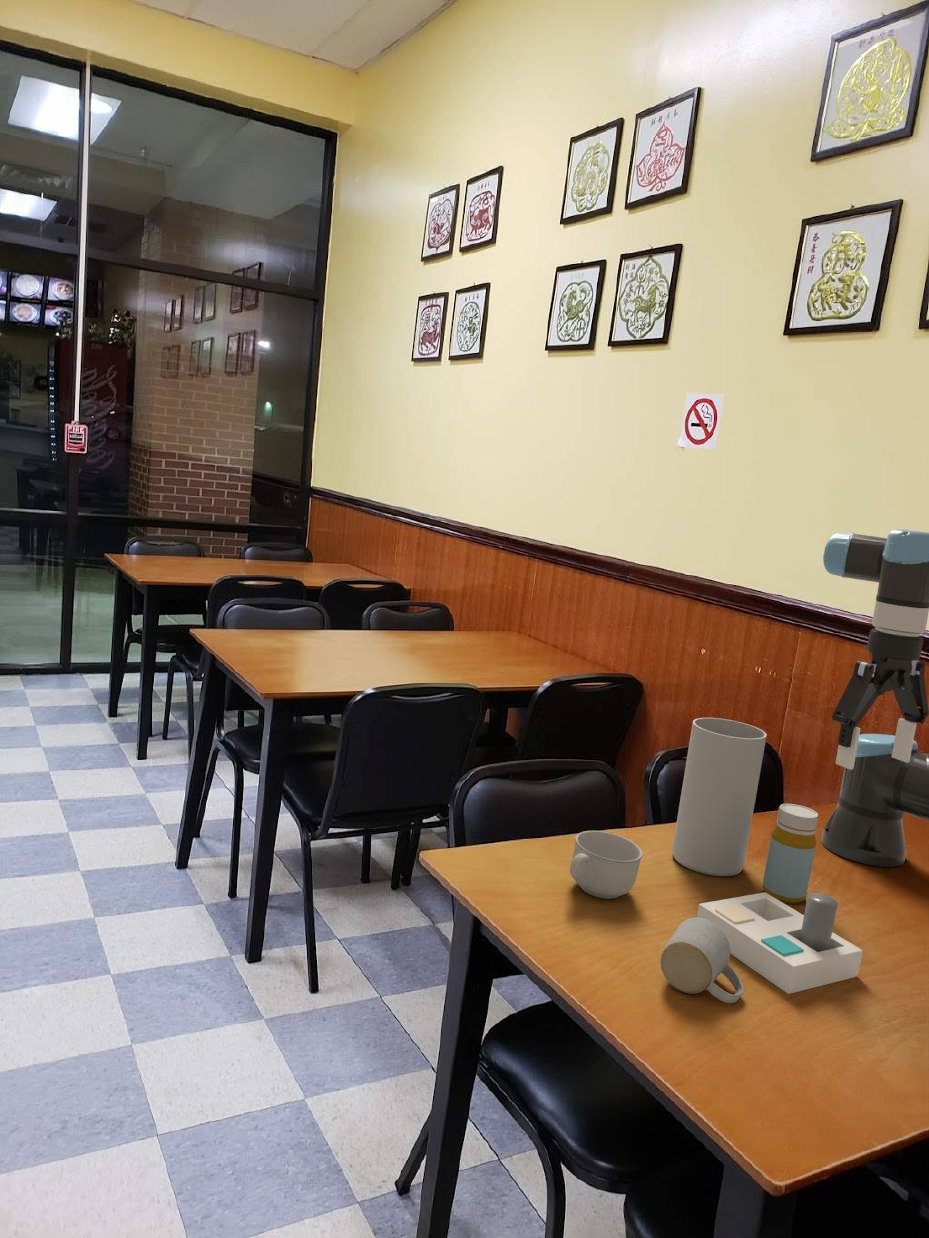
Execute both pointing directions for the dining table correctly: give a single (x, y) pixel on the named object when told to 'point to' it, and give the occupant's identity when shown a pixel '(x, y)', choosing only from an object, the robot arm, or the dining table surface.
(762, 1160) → the dining table surface
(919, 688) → the robot arm
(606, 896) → the teacup
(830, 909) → the plug
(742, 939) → the socket block
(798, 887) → the bottle
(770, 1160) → the dining table surface
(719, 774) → the cylinder vase
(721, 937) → the ceramic mug
